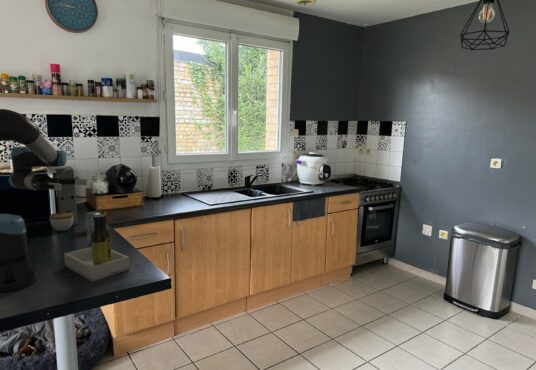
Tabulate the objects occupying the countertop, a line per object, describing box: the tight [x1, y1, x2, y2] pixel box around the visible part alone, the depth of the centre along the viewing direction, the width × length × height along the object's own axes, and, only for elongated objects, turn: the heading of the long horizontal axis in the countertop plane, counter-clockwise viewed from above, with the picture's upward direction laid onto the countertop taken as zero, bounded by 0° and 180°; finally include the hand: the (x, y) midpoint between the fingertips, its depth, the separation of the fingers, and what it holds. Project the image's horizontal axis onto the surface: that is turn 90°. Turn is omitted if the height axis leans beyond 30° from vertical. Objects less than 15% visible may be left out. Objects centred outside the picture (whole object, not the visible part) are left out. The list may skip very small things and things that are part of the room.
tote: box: [63, 247, 130, 283], centre depth 141 cm, size 22×14×5 cm, turn 49°
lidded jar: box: [49, 211, 73, 232], centre depth 192 cm, size 11×11×9 cm
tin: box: [84, 211, 101, 248], centre depth 164 cm, size 6×6×15 cm
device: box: [54, 165, 79, 226], centre depth 204 cm, size 16×8×30 cm, turn 33°
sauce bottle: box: [91, 215, 112, 266], centre depth 136 cm, size 6×6×20 cm
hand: (74, 184), depth 165 cm, fingers open, 13 cm apart
